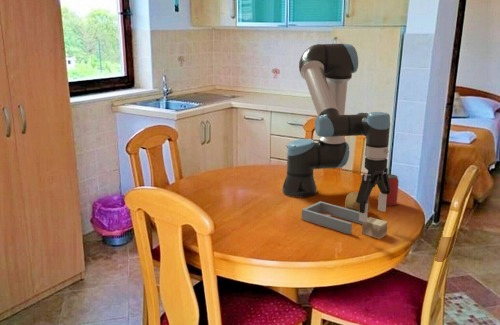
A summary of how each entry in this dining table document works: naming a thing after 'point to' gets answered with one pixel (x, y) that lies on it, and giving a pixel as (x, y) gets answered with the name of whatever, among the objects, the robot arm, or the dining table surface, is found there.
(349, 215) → the u-shaped frame
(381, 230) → the block
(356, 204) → the potato
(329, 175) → the dining table surface
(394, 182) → the beer can
